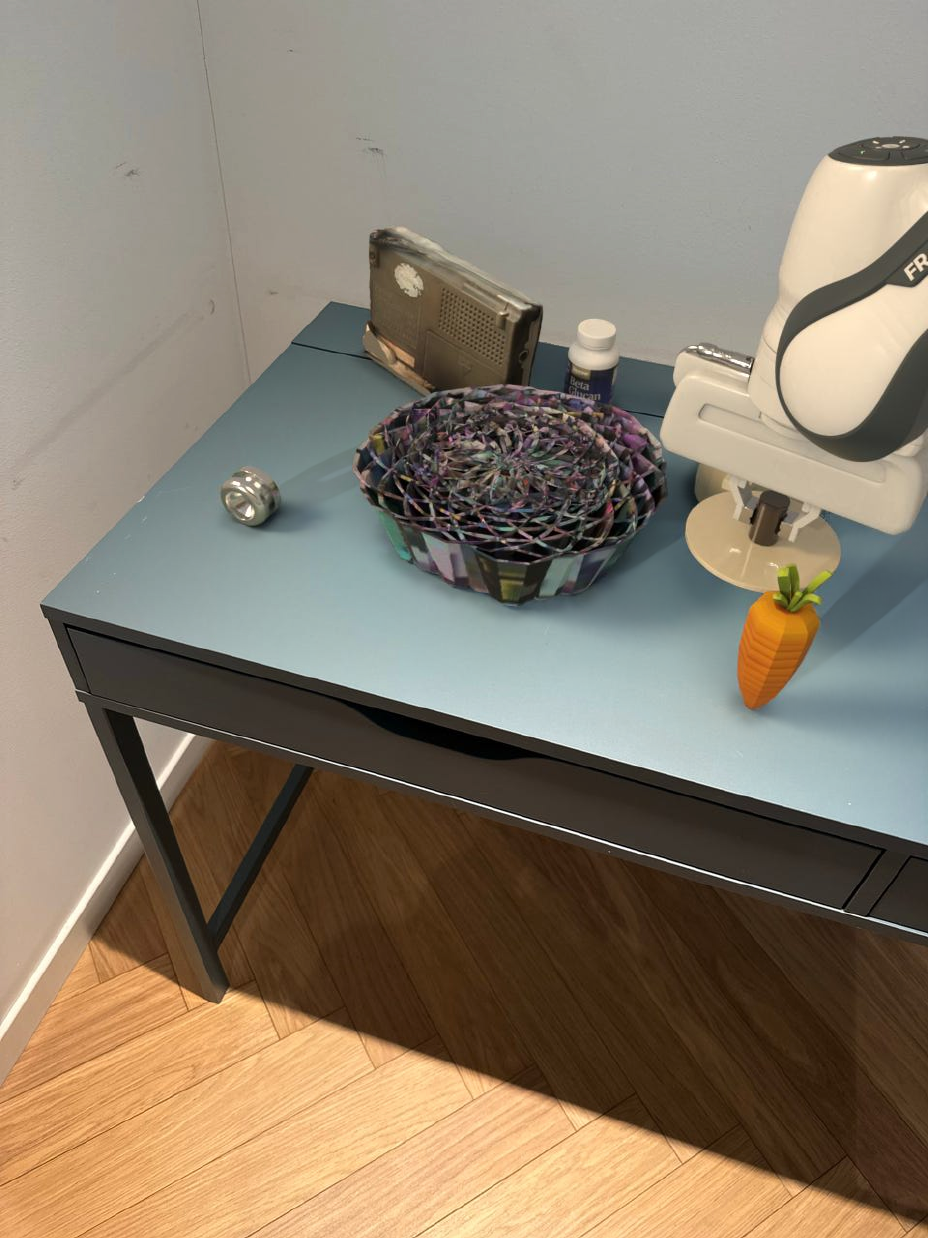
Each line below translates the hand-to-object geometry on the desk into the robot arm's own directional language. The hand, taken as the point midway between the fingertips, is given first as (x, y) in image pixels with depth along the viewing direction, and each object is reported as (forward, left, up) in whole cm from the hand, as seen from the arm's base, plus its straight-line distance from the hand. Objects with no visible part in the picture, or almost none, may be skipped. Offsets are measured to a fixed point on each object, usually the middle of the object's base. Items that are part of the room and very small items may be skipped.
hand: (766, 527), depth 79 cm
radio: (+41, -15, -9) cm, 44 cm away
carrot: (-5, +11, -9) cm, 15 cm away
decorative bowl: (+22, +4, -9) cm, 24 cm away
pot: (+5, -15, -9) cm, 18 cm away
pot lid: (0, 0, -2) cm, 2 cm away
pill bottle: (+26, -19, -9) cm, 33 cm away
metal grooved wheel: (+43, +16, -9) cm, 47 cm away
